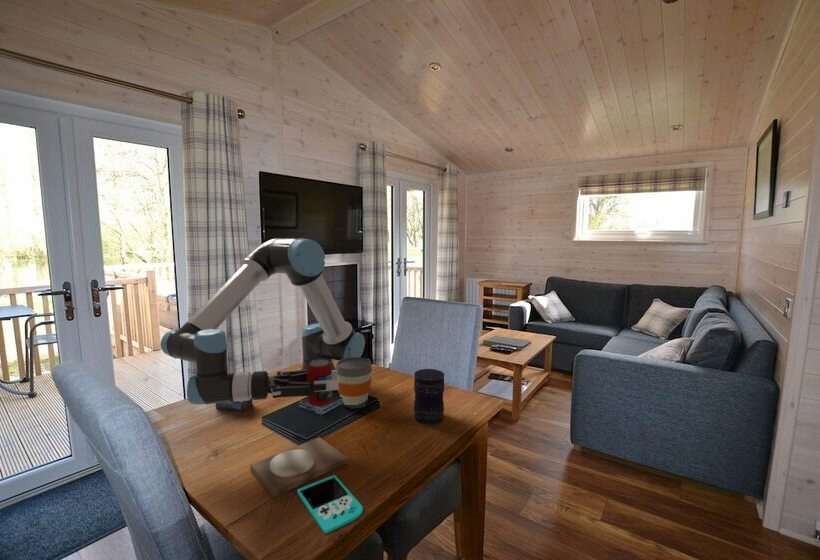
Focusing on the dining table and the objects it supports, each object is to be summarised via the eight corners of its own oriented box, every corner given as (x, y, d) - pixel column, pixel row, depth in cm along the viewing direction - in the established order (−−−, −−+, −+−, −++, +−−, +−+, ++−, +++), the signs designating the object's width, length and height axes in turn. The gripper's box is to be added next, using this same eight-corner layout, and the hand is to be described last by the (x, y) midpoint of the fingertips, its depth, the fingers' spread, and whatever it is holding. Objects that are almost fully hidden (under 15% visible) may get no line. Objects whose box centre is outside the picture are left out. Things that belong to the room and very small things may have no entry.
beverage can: (326, 409, 109) (325, 367, 107) (303, 406, 110) (302, 365, 109) (335, 399, 116) (335, 359, 114) (314, 396, 117) (313, 357, 115)
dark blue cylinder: (408, 414, 132) (408, 371, 130) (433, 408, 137) (434, 367, 135) (423, 428, 124) (423, 382, 122) (449, 421, 128) (450, 376, 126)
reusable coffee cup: (338, 396, 146) (338, 357, 144) (372, 396, 147) (372, 356, 145) (333, 412, 134) (332, 369, 132) (371, 411, 134) (370, 369, 132)
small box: (214, 409, 135) (212, 379, 134) (227, 401, 142) (225, 372, 140) (241, 412, 133) (239, 382, 131) (253, 404, 139) (252, 375, 138)
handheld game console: (324, 536, 81) (324, 530, 80) (295, 494, 93) (295, 488, 93) (367, 516, 86) (367, 510, 86) (334, 478, 99) (334, 473, 99)
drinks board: (319, 441, 115) (319, 434, 115) (347, 462, 105) (347, 454, 105) (250, 470, 101) (250, 461, 101) (274, 497, 91) (274, 488, 91)
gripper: (257, 385, 118) (336, 379, 123) (246, 415, 99) (339, 407, 104) (256, 360, 117) (335, 356, 122) (245, 386, 98) (339, 379, 103)
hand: (337, 379), depth 113 cm, fingers closed on beverage can, 7 cm apart
